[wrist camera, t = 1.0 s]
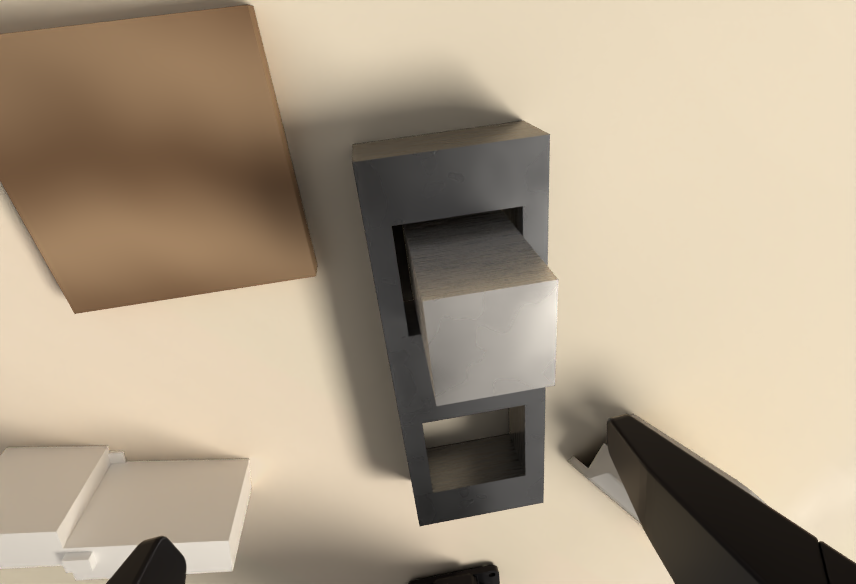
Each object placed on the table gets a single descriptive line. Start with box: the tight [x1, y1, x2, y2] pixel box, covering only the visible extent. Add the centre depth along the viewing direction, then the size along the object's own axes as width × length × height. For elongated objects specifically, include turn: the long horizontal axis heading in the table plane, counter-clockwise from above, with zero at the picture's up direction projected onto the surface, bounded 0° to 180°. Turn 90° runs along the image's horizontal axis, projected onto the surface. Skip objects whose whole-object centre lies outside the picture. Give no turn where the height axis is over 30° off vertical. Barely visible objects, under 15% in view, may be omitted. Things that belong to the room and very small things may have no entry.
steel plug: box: [402, 210, 558, 406], centre depth 18 cm, size 4×4×8 cm
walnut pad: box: [0, 5, 318, 314], centre depth 18 cm, size 10×10×1 cm
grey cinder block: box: [352, 121, 550, 526], centre depth 23 cm, size 20×7×3 cm, turn 6°
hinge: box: [568, 414, 767, 522], centre depth 29 cm, size 17×5×10 cm, turn 42°
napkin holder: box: [0, 446, 252, 581], centre depth 23 cm, size 15×11×6 cm
